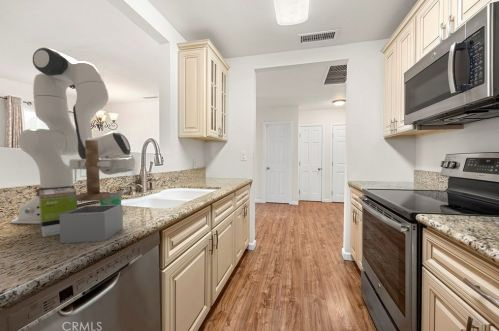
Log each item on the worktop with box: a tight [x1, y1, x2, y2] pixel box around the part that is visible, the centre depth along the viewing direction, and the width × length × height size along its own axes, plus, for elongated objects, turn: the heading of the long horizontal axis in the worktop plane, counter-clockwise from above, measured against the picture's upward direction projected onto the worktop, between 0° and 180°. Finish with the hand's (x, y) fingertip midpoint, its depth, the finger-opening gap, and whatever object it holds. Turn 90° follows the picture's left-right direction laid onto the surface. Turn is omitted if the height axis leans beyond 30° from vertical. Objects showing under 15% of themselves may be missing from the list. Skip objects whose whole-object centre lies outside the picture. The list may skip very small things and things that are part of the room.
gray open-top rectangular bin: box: [59, 204, 124, 244], centre depth 77 cm, size 13×13×9 cm
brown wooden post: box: [76, 140, 111, 202], centre depth 76 cm, size 8×5×20 cm, turn 97°
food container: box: [99, 190, 124, 205], centre depth 110 cm, size 12×6×10 cm, turn 168°
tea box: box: [39, 188, 78, 238], centre depth 83 cm, size 15×10×15 cm
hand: (91, 164), depth 75 cm, fingers closed on brown wooden post, 4 cm apart
